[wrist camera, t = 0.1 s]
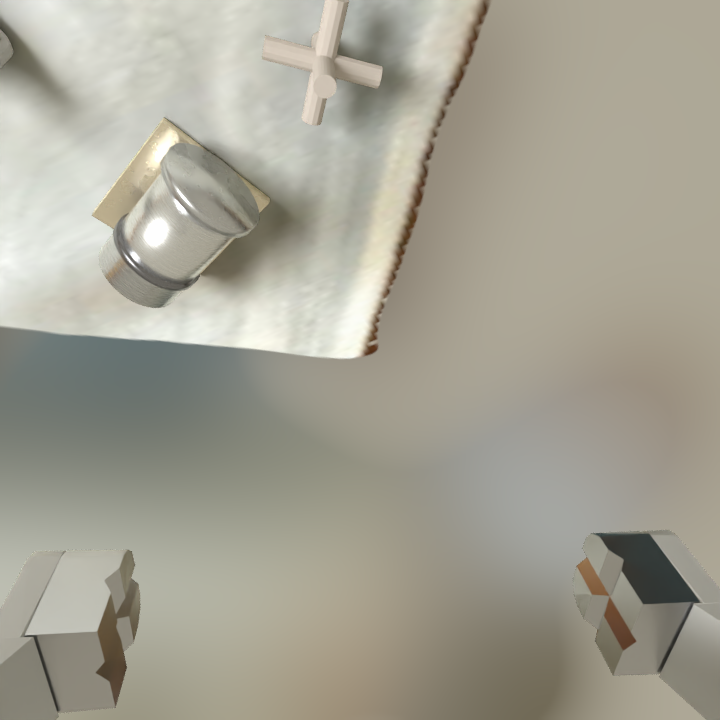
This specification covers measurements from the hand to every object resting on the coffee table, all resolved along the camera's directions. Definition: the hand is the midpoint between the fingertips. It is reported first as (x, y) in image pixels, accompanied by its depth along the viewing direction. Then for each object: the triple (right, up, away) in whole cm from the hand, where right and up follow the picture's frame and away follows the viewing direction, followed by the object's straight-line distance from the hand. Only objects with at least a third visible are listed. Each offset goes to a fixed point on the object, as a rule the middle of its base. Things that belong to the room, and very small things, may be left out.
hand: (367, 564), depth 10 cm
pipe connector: (-4, +33, +41) cm, 53 cm away
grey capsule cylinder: (-20, +21, +52) cm, 59 cm away
